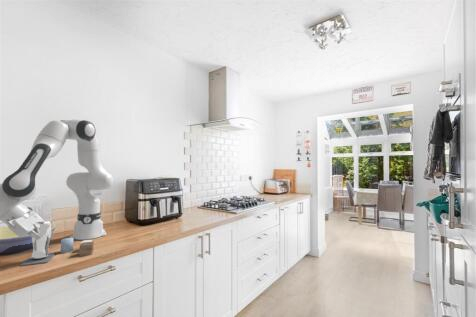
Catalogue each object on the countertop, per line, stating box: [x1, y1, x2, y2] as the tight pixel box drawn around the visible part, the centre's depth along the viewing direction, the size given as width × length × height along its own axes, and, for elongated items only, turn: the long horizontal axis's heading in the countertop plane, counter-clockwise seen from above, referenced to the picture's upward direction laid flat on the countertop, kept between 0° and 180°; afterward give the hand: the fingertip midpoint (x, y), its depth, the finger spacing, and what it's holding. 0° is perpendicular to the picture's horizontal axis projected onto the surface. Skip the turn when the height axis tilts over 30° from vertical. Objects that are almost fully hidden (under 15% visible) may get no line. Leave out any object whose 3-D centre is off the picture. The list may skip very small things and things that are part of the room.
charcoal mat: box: [19, 252, 56, 267], centre depth 104 cm, size 12×9×1 cm
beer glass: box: [30, 220, 53, 259], centre depth 105 cm, size 7×7×15 cm
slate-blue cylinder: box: [60, 237, 75, 254], centre depth 115 cm, size 5×5×6 cm
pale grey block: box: [79, 239, 93, 245], centre depth 118 cm, size 6×4×4 cm, turn 20°
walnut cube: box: [78, 240, 95, 257], centre depth 112 cm, size 5×5×5 cm
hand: (43, 235), depth 105 cm, fingers closed on beer glass, 6 cm apart
